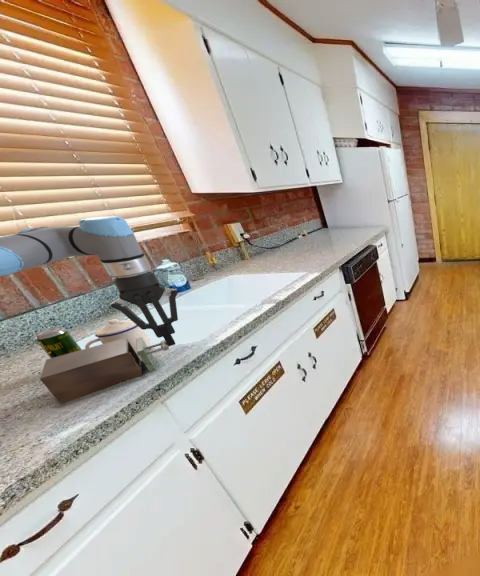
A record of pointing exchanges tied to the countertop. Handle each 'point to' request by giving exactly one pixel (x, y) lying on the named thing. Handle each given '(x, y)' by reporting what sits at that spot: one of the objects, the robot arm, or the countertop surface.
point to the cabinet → (89, 370)
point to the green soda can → (57, 342)
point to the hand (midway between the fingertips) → (171, 343)
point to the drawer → (145, 353)
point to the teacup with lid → (120, 333)
